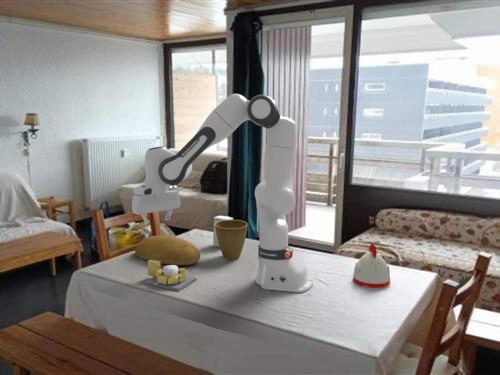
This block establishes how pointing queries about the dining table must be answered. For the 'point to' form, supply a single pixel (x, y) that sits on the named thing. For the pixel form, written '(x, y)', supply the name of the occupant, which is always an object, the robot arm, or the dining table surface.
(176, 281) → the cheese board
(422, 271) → the dining table surface
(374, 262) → the white knit hat
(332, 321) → the dining table surface
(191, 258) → the bread
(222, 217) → the skincare box
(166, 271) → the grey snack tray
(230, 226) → the plant pot
